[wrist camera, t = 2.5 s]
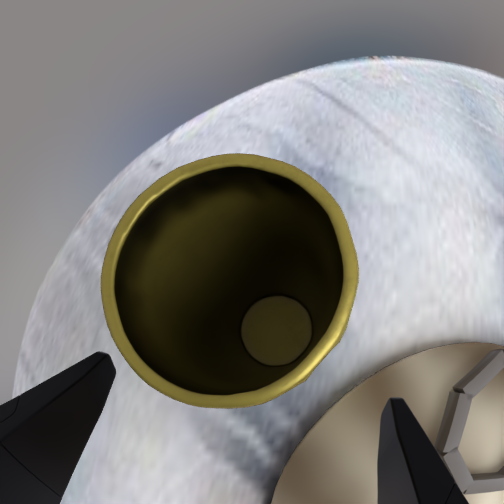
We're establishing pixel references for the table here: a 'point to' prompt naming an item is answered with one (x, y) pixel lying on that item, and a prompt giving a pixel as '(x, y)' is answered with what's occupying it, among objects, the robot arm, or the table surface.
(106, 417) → the table surface
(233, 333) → the vase
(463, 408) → the disc
